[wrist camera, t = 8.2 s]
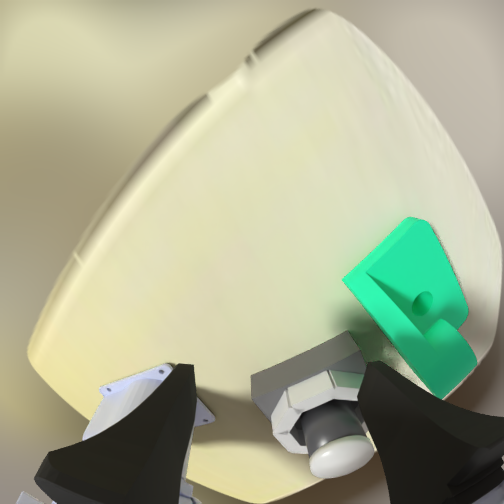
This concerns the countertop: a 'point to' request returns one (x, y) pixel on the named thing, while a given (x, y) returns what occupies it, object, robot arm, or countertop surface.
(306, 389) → the square octagon-collar plate
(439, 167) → the countertop surface
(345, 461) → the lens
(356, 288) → the camera mount
